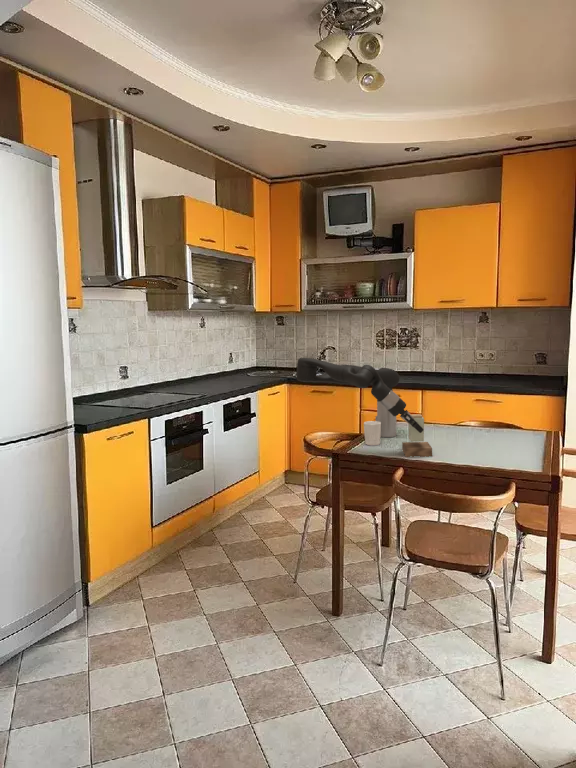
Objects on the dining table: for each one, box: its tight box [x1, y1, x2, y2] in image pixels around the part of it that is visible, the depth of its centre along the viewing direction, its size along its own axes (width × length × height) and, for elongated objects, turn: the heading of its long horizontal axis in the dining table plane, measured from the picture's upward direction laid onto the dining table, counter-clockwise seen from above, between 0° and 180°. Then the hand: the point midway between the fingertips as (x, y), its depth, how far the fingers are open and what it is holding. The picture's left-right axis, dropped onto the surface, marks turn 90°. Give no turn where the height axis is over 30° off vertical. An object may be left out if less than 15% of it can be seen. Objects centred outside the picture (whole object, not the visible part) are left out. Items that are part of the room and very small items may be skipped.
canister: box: [408, 413, 425, 442], centre depth 244 cm, size 5×5×11 cm
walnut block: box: [401, 441, 433, 458], centre depth 245 cm, size 11×11×4 cm
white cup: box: [363, 420, 381, 446], centre depth 264 cm, size 8×8×10 cm
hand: (420, 429), depth 244 cm, fingers closed on canister, 5 cm apart
